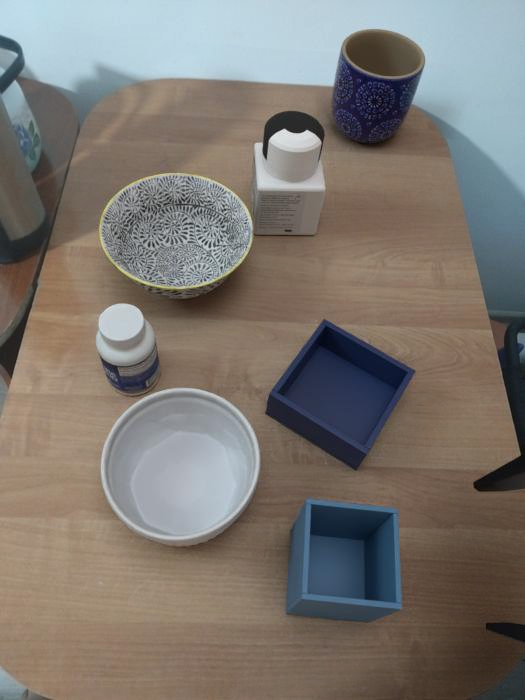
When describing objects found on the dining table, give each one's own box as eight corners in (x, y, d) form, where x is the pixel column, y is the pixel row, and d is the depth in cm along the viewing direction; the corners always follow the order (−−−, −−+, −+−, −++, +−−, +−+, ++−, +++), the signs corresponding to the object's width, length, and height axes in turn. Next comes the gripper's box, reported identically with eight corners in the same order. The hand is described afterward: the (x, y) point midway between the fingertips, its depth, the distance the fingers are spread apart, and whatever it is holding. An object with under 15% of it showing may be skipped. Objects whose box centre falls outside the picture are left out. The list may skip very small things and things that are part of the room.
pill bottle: (102, 359, 58) (83, 304, 50) (153, 345, 59) (143, 290, 51) (114, 404, 56) (96, 354, 47) (167, 388, 57) (159, 338, 48)
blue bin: (367, 537, 51) (398, 508, 42) (367, 622, 47) (402, 609, 39) (290, 529, 51) (306, 498, 42) (285, 614, 47) (301, 599, 38)
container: (250, 190, 72) (257, 100, 61) (309, 191, 73) (327, 102, 62) (253, 235, 68) (261, 148, 57) (315, 236, 69) (335, 150, 58)
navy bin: (402, 391, 59) (416, 370, 55) (356, 470, 54) (367, 454, 50) (317, 341, 61) (324, 318, 57) (265, 413, 56) (268, 393, 52)
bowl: (275, 261, 67) (282, 215, 60) (194, 354, 59) (192, 314, 53) (169, 201, 70) (164, 152, 64) (80, 282, 63) (65, 236, 56)
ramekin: (106, 431, 54) (92, 400, 48) (239, 406, 56) (242, 374, 50) (121, 573, 48) (107, 558, 42) (270, 539, 50) (278, 519, 44)
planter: (315, 108, 82) (328, 32, 72) (382, 99, 84) (404, 24, 75) (342, 158, 77) (360, 83, 67) (413, 147, 79) (441, 73, 69)
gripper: (695, 305, 29) (418, 381, 38) (862, 746, 19) (429, 701, 28) (731, 397, 35) (487, 442, 45) (868, 761, 25) (516, 720, 35)
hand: (481, 552), depth 38 cm, fingers open, 9 cm apart
